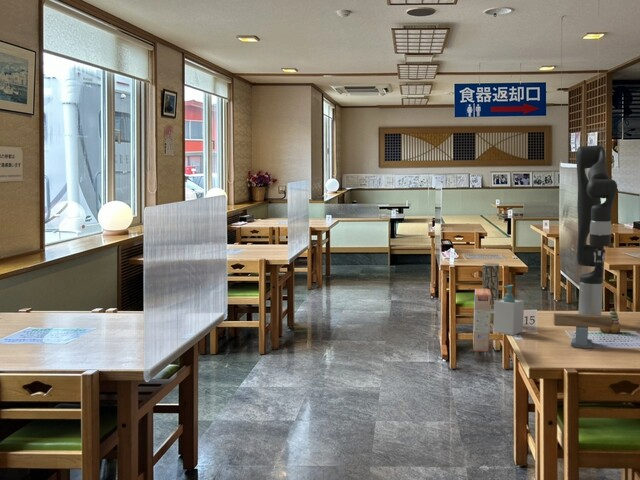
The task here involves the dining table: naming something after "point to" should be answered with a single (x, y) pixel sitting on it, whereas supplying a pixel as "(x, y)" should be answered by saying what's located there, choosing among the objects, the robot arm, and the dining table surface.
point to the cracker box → (481, 320)
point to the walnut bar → (583, 320)
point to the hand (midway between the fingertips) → (598, 275)
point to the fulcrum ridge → (581, 338)
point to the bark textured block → (491, 283)
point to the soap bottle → (508, 314)
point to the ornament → (613, 323)
